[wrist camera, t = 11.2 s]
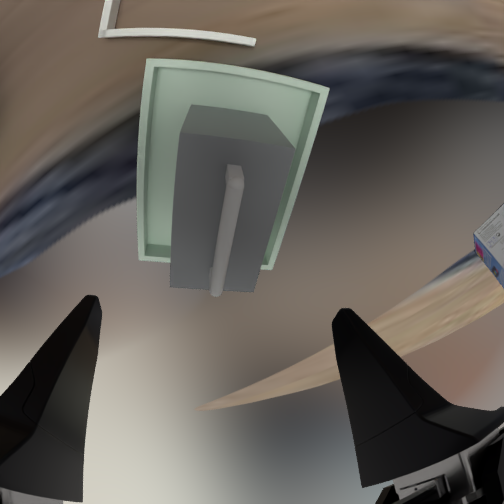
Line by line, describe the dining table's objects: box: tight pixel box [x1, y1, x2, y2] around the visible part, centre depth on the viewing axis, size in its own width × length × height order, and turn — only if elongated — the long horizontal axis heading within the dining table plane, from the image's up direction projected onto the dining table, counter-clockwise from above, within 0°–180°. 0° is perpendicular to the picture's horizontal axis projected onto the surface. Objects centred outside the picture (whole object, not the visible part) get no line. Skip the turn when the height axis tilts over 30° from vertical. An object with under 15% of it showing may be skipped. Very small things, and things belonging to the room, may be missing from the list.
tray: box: [137, 58, 330, 270], centre depth 19 cm, size 11×15×2 cm
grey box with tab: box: [170, 104, 295, 297], centre depth 16 cm, size 5×9×9 cm, turn 168°
